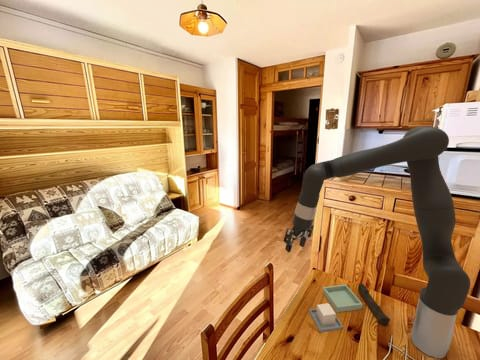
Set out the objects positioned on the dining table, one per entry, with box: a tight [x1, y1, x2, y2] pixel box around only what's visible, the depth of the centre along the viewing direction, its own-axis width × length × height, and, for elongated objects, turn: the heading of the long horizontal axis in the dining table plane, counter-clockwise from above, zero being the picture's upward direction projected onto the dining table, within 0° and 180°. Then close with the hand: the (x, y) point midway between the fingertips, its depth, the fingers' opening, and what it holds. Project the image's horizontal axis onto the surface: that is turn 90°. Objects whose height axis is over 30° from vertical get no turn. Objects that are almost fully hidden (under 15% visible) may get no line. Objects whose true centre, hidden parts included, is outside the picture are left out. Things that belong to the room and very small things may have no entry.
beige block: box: [316, 302, 337, 326], centre depth 82 cm, size 5×5×5 cm
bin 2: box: [322, 284, 364, 313], centre depth 91 cm, size 11×11×3 cm
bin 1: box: [308, 307, 344, 333], centre depth 82 cm, size 9×9×2 cm
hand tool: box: [357, 283, 391, 326], centre depth 89 cm, size 19×4×5 cm, turn 175°
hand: (294, 248), depth 87 cm, fingers open, 8 cm apart
